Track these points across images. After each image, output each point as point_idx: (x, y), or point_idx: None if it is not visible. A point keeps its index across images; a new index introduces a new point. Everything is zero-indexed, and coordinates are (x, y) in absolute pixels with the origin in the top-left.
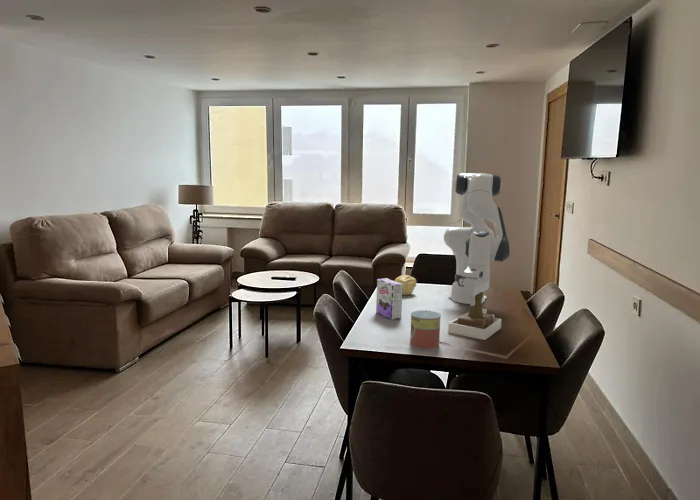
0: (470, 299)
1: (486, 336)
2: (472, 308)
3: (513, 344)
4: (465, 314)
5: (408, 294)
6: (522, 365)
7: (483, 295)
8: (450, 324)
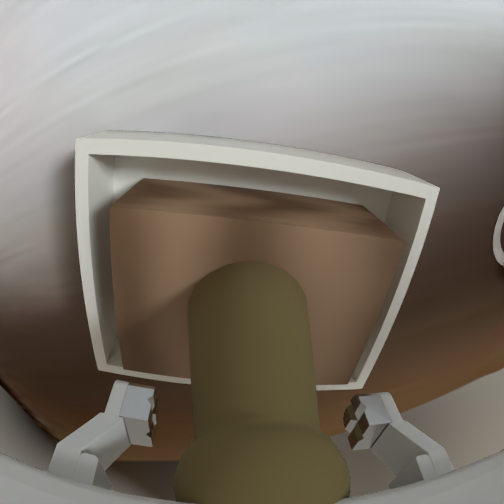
0: (83, 433)
1: None
2: (191, 354)
3: (173, 407)
4: (266, 232)
5: None
6: (30, 415)
7: (389, 460)
8: (80, 153)
